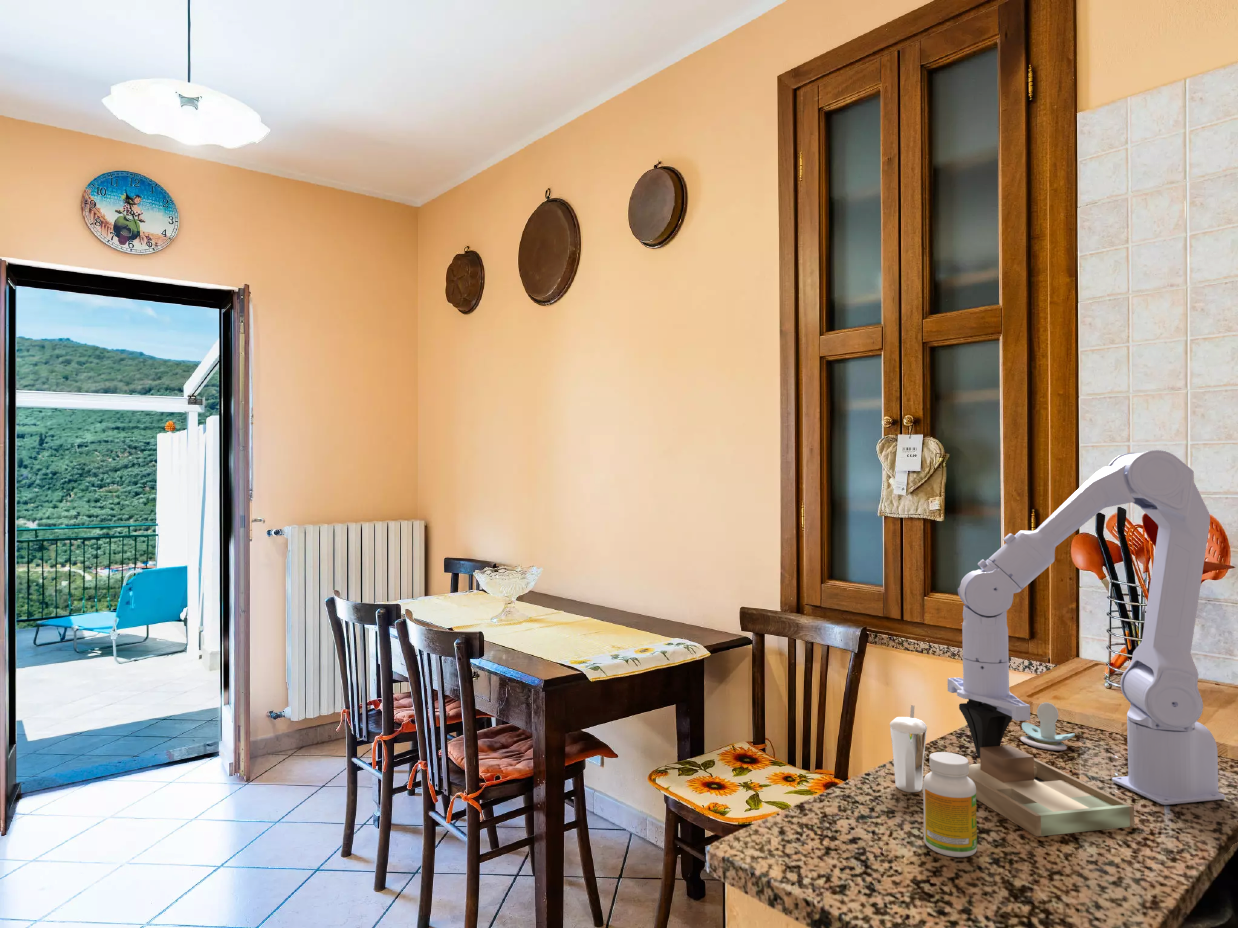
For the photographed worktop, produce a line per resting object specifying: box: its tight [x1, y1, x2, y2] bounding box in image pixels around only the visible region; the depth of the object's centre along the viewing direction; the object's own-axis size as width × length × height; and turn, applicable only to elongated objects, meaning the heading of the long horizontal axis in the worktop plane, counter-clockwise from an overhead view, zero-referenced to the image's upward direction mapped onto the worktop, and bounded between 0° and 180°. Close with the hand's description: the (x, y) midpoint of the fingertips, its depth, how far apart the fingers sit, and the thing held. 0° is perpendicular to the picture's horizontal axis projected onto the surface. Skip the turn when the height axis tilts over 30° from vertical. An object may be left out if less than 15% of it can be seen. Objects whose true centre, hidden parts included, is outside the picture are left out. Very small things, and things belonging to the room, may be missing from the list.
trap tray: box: [967, 757, 1135, 837], centre depth 96 cm, size 13×18×2 cm
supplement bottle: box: [922, 751, 978, 858], centre depth 84 cm, size 5×5×10 cm
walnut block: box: [979, 744, 1035, 783], centre depth 101 cm, size 4×4×3 cm
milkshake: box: [889, 704, 928, 793], centre depth 101 cm, size 5×5×10 cm
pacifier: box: [1020, 701, 1075, 751], centre depth 117 cm, size 7×6×6 cm
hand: (987, 758), depth 105 cm, fingers closed
